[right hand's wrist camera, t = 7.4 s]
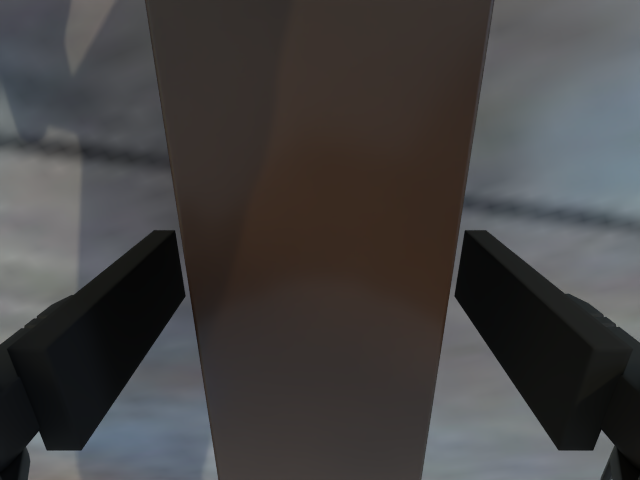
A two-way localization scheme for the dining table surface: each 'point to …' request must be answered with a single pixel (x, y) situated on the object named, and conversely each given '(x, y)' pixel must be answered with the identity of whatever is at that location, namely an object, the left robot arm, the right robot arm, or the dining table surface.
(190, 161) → the walnut beam
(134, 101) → the dining table surface
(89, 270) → the dining table surface
